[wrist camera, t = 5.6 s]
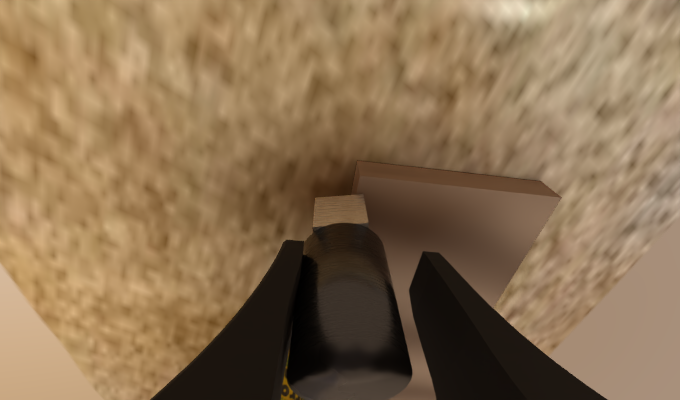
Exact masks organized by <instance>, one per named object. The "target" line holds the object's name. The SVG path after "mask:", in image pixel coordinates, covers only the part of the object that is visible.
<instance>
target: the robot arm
mask: <svg viewBox="0 0 680 400" xmlns="http://www.w3.org/2000/svg"><path fill="white" fill-rule="evenodd" d="M303 249H304V241H294V240H286V241H284V242H283V244H282V247H281V249H280V251H279V253H278V255H277V257H276V259H275V260H274V262H273V264H272V265H271V267H270V269H269V270H268V272H267V273H266V275H265V276H264V278H263V279H262V281H261V282H260V284H259V285H258V287H257V288H256V289H255V291H254V292H253V293H252V295H251V296H250V297H249V299H248V300H247V301H246V302H245V304H244V305H243V306H242V308H241V309H240V310H239V311H238V313H237V314H236V315H235V316H234V317H233V319H232V320H231V321H230V322H229V323H228V324H227V325H226V327H225V328H224V329H223V330H222V331H221V332H220V333H219V334H218V335H217V336H216V337H215V339H214V340H213V341H212V342H211V343H210V344H209V345H208V346H207V347H206V348H205V349H204V350H203V351H202V352H201V353H200V354H199V355H198V356H197V357H196V358H195V359H194V360H193V361H192V362H191V363H190V364H189V365H188V366H187V367H186V368H185V369H183V370H182V371H181V372H180V373H179V374H178V375H177V376H176V377H175V378H174V379H173V380H171V381H170V382H169V383H168V384H167V385H166V386H165V387H164V388H163V389H162V390H161V391H159V392H158V393H157V394H156V395H155V396H154V397H153V398H152V399H150V400H281V393H282V386H283V380H284V374H285V369H286V364H287V359H288V354H289V349H290V342H291V334H292V326H293V318H294V310H295V303H296V297H297V291H298V286H299V281H300V276H301V268H302V259H303ZM409 295H410V302H411V308H412V313H413V318H414V322H415V325H416V329H417V332H418V336H419V339H420V342H421V346H422V349H423V352H424V356H425V359H426V362H427V366H428V369H429V372H430V376H431V379H432V383H433V387H434V391H435V395H436V400H607V399H606V398H604V397H603V396H601V395H600V394H598V393H597V392H596V391H594V390H593V389H591V388H590V387H588V386H587V385H585V384H584V383H583V382H581V381H580V380H579V379H577V378H576V377H575V376H573V375H572V374H570V373H569V372H568V371H567V370H565V369H564V368H562V367H561V366H560V365H558V364H557V363H556V362H555V361H553V360H552V359H551V358H549V357H548V356H547V355H546V354H544V353H543V352H542V351H541V350H540V349H538V348H537V347H536V346H535V345H534V344H532V343H531V342H530V341H529V340H528V339H526V338H525V337H524V336H523V335H522V334H520V333H519V332H518V331H517V330H516V329H515V328H514V327H512V326H511V325H510V324H509V323H508V322H507V321H506V320H505V319H504V318H503V317H502V316H501V315H500V314H499V313H497V312H496V311H495V310H494V309H493V308H492V307H491V306H490V305H489V304H488V303H487V302H486V301H485V300H484V299H483V298H482V297H481V296H480V295H479V294H478V293H477V292H476V291H475V290H474V289H473V288H472V287H471V286H470V284H469V283H468V282H467V281H466V280H465V279H464V278H463V277H462V276H461V275H460V274H459V273H458V272H457V271H456V270H455V269H454V267H453V266H452V265H451V264H450V263H449V262H448V261H447V260H446V259H445V258H444V257H443V256H442V255H441V254H440V253H439V252H427V251H423V252H422V255H421V258H420V260H419V263H418V266H417V269H416V271H415V274H414V277H413V279H412V282H411V285H410V288H409Z"/></svg>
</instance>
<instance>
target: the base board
mask: <svg viewBox="0 0 680 400" xmlns="http://www.w3.org/2000/svg"><path fill="white" fill-rule="evenodd" d="M360 194H363V195H364V201H365V206H366V212H367V217H368V223H369V229H370V230H372V231H373V232H374V233H376V234H377V235H378V237H379V238H380V239H381V241H382V243H383V245H384V249H385V253H386V257H387V262H388V266H389V270H390V275H391V279H392V283H393V288H394V292H395V296H396V301H397V305H398V309H399V314H400V318H401V322H402V327H403V331H404V335H405V340H406V344H407V348H408V352H409V357H410V361H411V365H412V372H413V374H412V378H411V381H410V383H409V384H408V385H407V387H406V388H405V389H404V390H403V391H401V392H400V393H399V394H397V395H396V396H394V397H392V398H390V399H388V400H436V395H435V391H434V387H433V383H432V379H431V376H430V372H429V369H428V366H427V362H426V359H425V356H424V352H423V349H422V346H421V342H420V339H419V336H418V332H417V329H416V325H415V322H414V318H413V313H412V308H411V302H410V295H409V288H410V285H411V282H412V279H413V277H414V274H415V271H416V269H417V266H418V263H419V260H420V258H421V255H422V252H423V251H427V252H439V253H440V254H441V255H442V256H443V257H444V258H445V259H446V260H447V261H448V262H449V263H450V264H451V265H452V266H453V267H454V269H455V270H456V271H457V272H458V273H459V274H460V275H461V276H462V277H463V278H464V279H465V280H466V281H467V282H468V283H469V284H470V286H471V287H472V288H473V289H474V290H475V291H476V292H477V293H478V294H479V295H480V296H481V297H482V298H483V299H484V300H485V301H486V302H487V303H488V304H489V305H490V306H491V307H492V308H494V306H495V305H496V303H497V301H498V300H499V298H500V296H501V295H502V293H503V292H504V290H505V288H506V287H507V285H508V284H509V282H510V280H511V279H512V277H513V276H514V274H515V272H516V271H517V269H518V267H519V266H520V264H521V263H522V261H523V259H524V258H525V256H526V255H527V253H528V251H529V250H530V248H531V247H532V245H533V243H534V242H535V240H536V238H537V237H538V235H539V234H540V232H541V230H542V229H543V227H544V226H545V224H546V222H547V221H548V219H549V218H550V216H551V214H552V213H553V211H554V209H555V208H556V206H557V205H558V203H559V201H560V200H561V198H562V197H560V196H559V195H558V194H556V193H555V192H554V191H553V190H551V189H550V188H549V187H548V186H546V185H545V184H544V183H542V182H541V181H533V180H524V179H515V178H506V177H497V176H489V175H480V174H471V173H462V172H453V171H444V170H436V169H427V168H418V167H409V166H400V165H392V164H383V163H374V162H365V161H357V164H356V170H355V176H354V181H353V187H352V192H351V195H360Z"/></svg>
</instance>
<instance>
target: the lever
mask: <svg viewBox="0 0 680 400" xmlns="http://www.w3.org/2000/svg"><path fill="white" fill-rule="evenodd" d="M313 232H314V233H312V234H311V235H310V236H309V237H308V239H307V240H306V241H305V243H304V249H303V259H302V268H301V276H300V281H299V286H298V291H297V297H296V303H295V310H294V318H293V326H292V334H291V342H290V350H289V359H288V367H287V376H286V378H287V383H288V385H289V387H290V388H291V390H292V391H293V392H294V393H295V394H297V395H298V396H299V397H301V398H303V399H304V400H388V399H390V398H392V397H394V396H396V395H397V394H399V393H400V392H401V391H403V390H404V389H405V388H406V387H407V385H408V384H409V383H410V381H411V378H412V374H413V372H412V365H411V361H410V357H409V352H408V348H407V344H406V340H405V335H404V331H403V327H402V322H401V318H400V314H399V309H398V305H397V301H396V296H395V292H394V288H393V283H392V279H391V275H390V270H389V266H388V262H387V257H386V253H385V249H384V245H383V243H382V241H381V239H380V238H379V237H378V235H377V234H376V233H374V232H373V231H372V230H370V229H369V223H368V217H367V212H366V206H365V201H364V195H363V194H360V195H346V196H333V197H319V198H315V207H314V218H313Z"/></svg>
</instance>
